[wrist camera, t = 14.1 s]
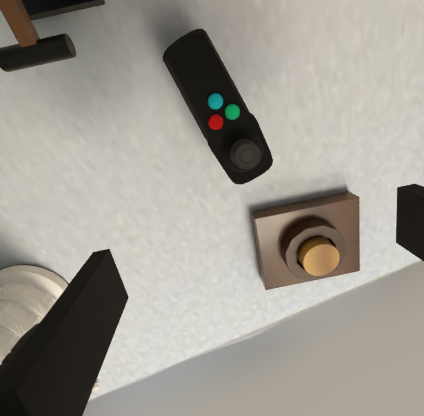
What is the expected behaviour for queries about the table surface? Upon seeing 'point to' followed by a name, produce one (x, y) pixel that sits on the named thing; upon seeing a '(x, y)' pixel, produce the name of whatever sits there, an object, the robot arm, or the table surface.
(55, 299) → the decorative container
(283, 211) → the switch block
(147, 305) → the table surface
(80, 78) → the table surface
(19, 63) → the lever
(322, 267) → the power button
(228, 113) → the controller
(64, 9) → the switch bracket
